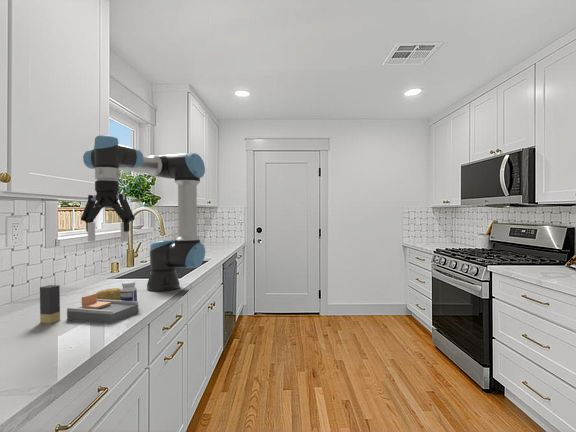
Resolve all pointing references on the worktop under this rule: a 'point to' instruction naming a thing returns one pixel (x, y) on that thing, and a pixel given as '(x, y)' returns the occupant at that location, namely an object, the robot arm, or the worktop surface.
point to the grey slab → (104, 312)
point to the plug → (49, 304)
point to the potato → (109, 294)
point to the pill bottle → (128, 291)
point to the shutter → (93, 302)
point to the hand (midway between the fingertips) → (107, 241)
